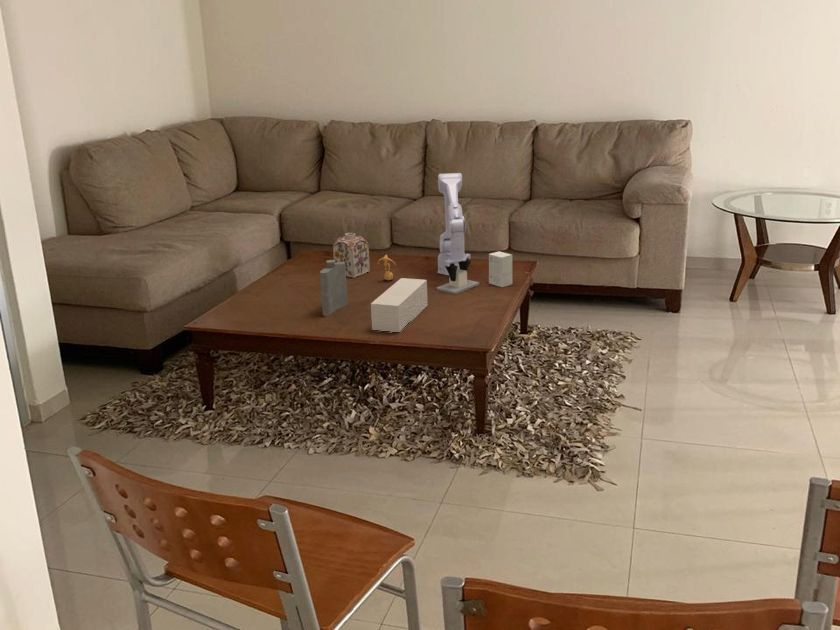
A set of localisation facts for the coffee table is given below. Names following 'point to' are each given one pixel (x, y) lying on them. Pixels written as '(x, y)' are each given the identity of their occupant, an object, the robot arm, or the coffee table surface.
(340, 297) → the hip flask
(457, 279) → the beige cardboard cube
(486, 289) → the coffee table surface
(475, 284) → the base board
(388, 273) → the figurine
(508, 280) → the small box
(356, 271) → the decorative jar
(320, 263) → the coffee table surface
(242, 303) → the coffee table surface
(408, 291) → the long white block
